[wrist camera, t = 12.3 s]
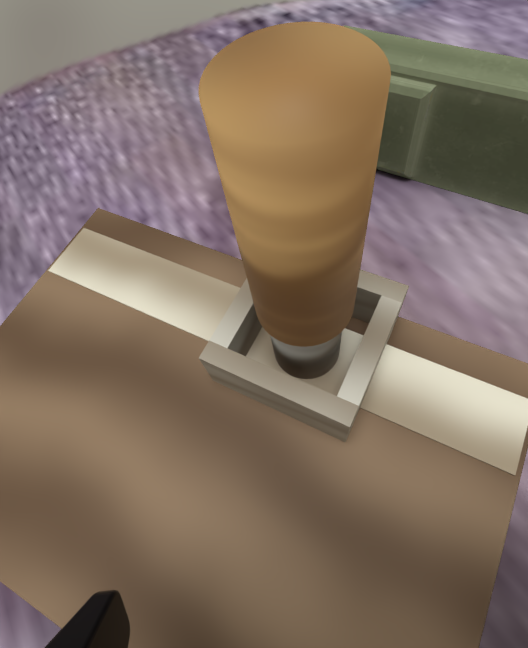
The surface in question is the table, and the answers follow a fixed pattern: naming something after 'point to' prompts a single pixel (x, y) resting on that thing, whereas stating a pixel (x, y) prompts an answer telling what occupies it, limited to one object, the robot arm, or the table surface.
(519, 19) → the table surface
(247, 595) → the board
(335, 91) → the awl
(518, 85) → the handheld radio
